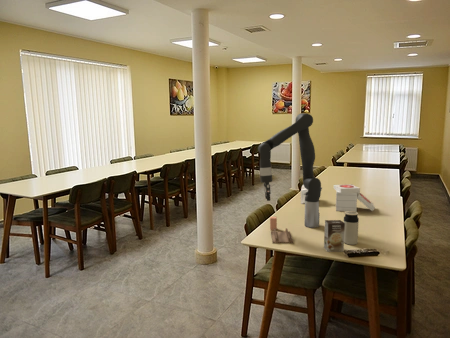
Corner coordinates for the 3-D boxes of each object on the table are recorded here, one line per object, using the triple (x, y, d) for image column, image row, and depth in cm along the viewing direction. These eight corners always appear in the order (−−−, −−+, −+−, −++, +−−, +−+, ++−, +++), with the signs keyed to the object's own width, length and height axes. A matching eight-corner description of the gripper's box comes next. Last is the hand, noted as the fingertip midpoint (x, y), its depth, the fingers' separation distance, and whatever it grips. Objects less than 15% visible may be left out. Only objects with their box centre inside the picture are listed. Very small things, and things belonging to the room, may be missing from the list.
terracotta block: (276, 228, 229) (276, 216, 228) (276, 230, 225) (276, 218, 224) (270, 228, 229) (270, 216, 228) (270, 230, 225) (270, 218, 224)
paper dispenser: (375, 214, 257) (376, 190, 254) (333, 211, 266) (333, 188, 263) (372, 207, 275) (373, 185, 272) (333, 205, 284) (333, 183, 281)
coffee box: (327, 252, 188) (328, 223, 186) (323, 247, 194) (324, 220, 192) (344, 251, 188) (345, 223, 186) (339, 247, 195) (340, 219, 192)
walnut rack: (289, 232, 219) (289, 228, 219) (293, 243, 202) (293, 238, 201) (270, 232, 220) (270, 228, 220) (272, 243, 203) (272, 238, 202)
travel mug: (360, 244, 198) (361, 214, 195) (346, 245, 197) (347, 214, 194) (353, 239, 205) (355, 210, 203) (340, 240, 205) (341, 211, 202)
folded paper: (301, 184, 285) (322, 186, 281) (302, 179, 308) (322, 181, 304) (299, 204, 288) (320, 207, 284) (300, 197, 311) (320, 200, 307)
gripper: (273, 175, 214) (275, 201, 215) (270, 173, 228) (272, 197, 229) (261, 176, 214) (263, 201, 215) (259, 174, 228) (261, 198, 229)
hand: (267, 199), depth 222 cm, fingers open, 8 cm apart
